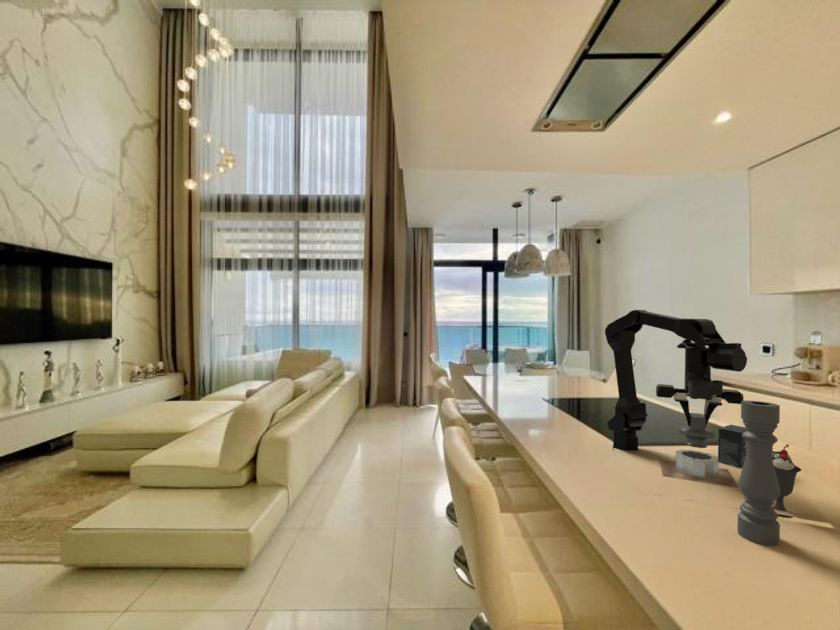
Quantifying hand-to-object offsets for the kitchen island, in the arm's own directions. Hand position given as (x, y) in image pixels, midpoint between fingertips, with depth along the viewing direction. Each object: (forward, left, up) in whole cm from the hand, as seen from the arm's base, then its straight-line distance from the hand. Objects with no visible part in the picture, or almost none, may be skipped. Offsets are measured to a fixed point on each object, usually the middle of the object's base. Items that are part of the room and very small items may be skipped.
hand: (696, 426), depth 112 cm
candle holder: (+6, -32, -13) cm, 35 cm away
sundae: (+13, -17, -13) cm, 25 cm away
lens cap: (0, 0, -5) cm, 5 cm away
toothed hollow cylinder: (0, 0, -12) cm, 12 cm away
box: (+11, +15, -13) cm, 23 cm away
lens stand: (0, 0, -13) cm, 13 cm away
